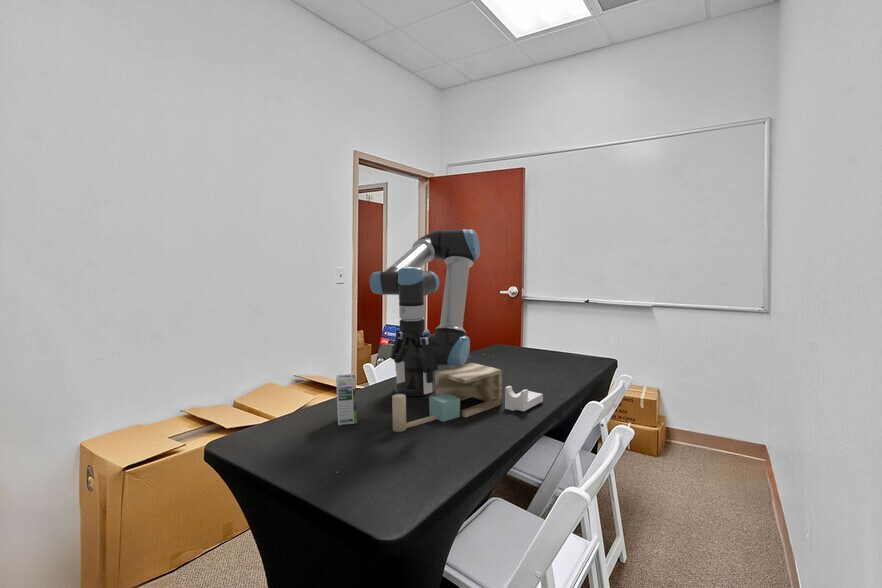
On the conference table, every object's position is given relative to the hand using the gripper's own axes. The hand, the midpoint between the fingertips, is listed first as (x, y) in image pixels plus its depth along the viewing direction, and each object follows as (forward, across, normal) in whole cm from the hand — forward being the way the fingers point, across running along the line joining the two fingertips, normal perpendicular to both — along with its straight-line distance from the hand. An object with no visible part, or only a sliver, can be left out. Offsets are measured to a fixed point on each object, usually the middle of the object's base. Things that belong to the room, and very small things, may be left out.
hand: (413, 387), depth 132 cm
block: (+11, +2, +3) cm, 12 cm away
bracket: (+13, +13, +37) cm, 41 cm away
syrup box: (+11, -15, -15) cm, 24 cm away
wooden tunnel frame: (+12, 0, +23) cm, 26 cm away
